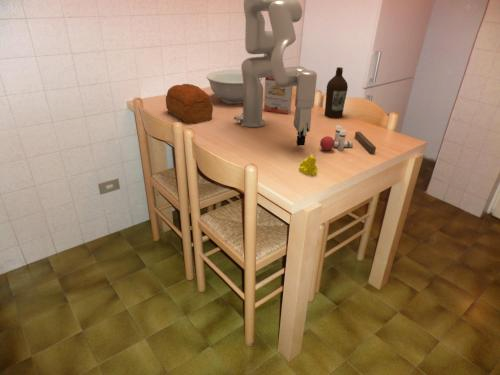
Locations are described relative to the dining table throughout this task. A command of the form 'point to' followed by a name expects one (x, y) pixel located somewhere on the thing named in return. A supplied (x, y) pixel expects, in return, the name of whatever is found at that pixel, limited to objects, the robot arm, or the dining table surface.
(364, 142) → the dark grey bar
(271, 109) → the cracker box
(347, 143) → the front pin
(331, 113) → the olive oil
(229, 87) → the bowl
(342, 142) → the pin
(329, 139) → the ball
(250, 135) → the dining table surface
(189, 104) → the bread
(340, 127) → the pin
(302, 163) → the grapes
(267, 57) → the robot arm
